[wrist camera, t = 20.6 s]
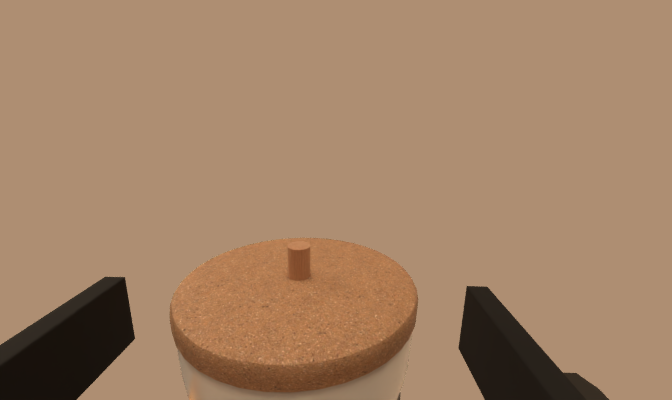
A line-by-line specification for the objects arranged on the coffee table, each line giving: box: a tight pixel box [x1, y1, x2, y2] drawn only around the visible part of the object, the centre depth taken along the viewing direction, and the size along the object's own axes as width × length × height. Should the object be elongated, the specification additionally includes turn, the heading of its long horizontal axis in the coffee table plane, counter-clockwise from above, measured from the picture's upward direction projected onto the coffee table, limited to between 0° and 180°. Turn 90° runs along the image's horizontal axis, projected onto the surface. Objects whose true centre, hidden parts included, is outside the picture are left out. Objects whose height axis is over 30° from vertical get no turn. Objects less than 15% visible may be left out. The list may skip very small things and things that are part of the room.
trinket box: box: [170, 238, 418, 400], centre depth 15 cm, size 11×11×9 cm
